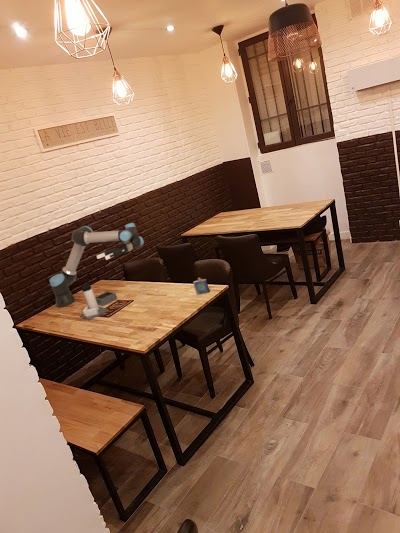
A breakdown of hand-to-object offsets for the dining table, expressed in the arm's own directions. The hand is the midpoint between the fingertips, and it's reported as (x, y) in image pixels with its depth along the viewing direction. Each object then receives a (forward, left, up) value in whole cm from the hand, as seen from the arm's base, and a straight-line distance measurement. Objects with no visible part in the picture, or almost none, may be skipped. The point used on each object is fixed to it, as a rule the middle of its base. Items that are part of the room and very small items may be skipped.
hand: (101, 257), depth 298 cm
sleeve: (0, -8, -32) cm, 33 cm away
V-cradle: (+12, -24, -32) cm, 42 cm away
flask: (+74, +26, -32) cm, 85 cm away
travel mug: (+12, -23, -31) cm, 40 cm away
